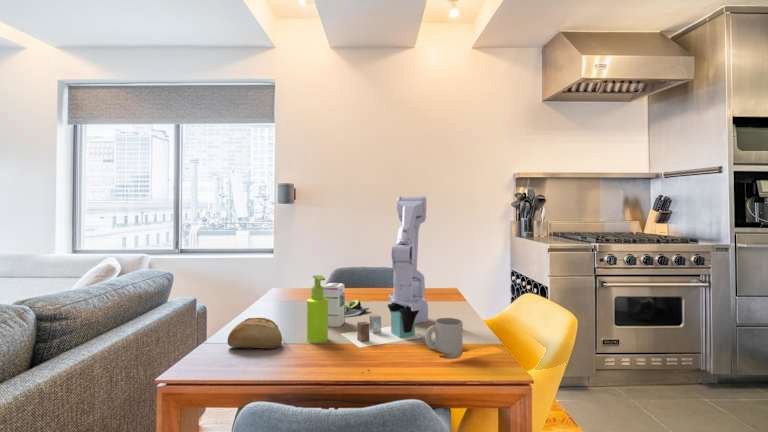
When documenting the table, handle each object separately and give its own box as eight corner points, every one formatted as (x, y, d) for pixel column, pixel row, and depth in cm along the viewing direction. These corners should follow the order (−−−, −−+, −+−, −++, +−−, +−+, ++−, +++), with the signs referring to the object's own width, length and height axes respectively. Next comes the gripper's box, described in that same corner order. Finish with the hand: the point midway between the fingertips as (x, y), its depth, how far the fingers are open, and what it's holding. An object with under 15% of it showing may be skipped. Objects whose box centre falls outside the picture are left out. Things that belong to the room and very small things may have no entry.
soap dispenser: (311, 350, 112) (311, 278, 112) (304, 343, 118) (304, 274, 118) (331, 347, 115) (332, 276, 114) (323, 340, 121) (323, 273, 120)
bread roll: (233, 342, 119) (233, 315, 119) (285, 341, 120) (285, 314, 120) (222, 353, 110) (222, 324, 110) (279, 352, 111) (279, 323, 111)
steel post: (377, 330, 126) (377, 314, 126) (381, 332, 123) (381, 316, 123) (369, 331, 125) (369, 315, 125) (373, 334, 122) (373, 317, 122)
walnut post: (365, 338, 118) (365, 321, 118) (369, 341, 116) (369, 323, 116) (357, 339, 117) (357, 322, 117) (361, 342, 114) (361, 324, 114)
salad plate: (351, 324, 140) (351, 310, 140) (306, 319, 146) (306, 306, 146) (372, 311, 158) (372, 299, 158) (331, 307, 164) (331, 295, 164)
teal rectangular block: (405, 330, 126) (406, 309, 126) (414, 335, 121) (414, 313, 121) (391, 333, 123) (391, 311, 123) (399, 337, 119) (399, 315, 119)
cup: (465, 358, 106) (465, 324, 106) (427, 359, 106) (427, 325, 105) (458, 349, 113) (458, 317, 113) (423, 350, 113) (423, 318, 113)
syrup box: (339, 331, 130) (340, 286, 130) (322, 330, 131) (322, 285, 131) (345, 326, 135) (345, 283, 135) (328, 325, 137) (328, 282, 137)
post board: (398, 329, 132) (398, 325, 132) (421, 342, 119) (421, 337, 119) (340, 338, 123) (340, 333, 123) (359, 353, 110) (359, 347, 110)
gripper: (380, 281, 127) (380, 325, 127) (403, 289, 114) (403, 338, 114) (399, 280, 130) (399, 322, 130) (424, 287, 117) (424, 334, 117)
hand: (402, 329), depth 122 cm, fingers closed on teal rectangular block, 5 cm apart
